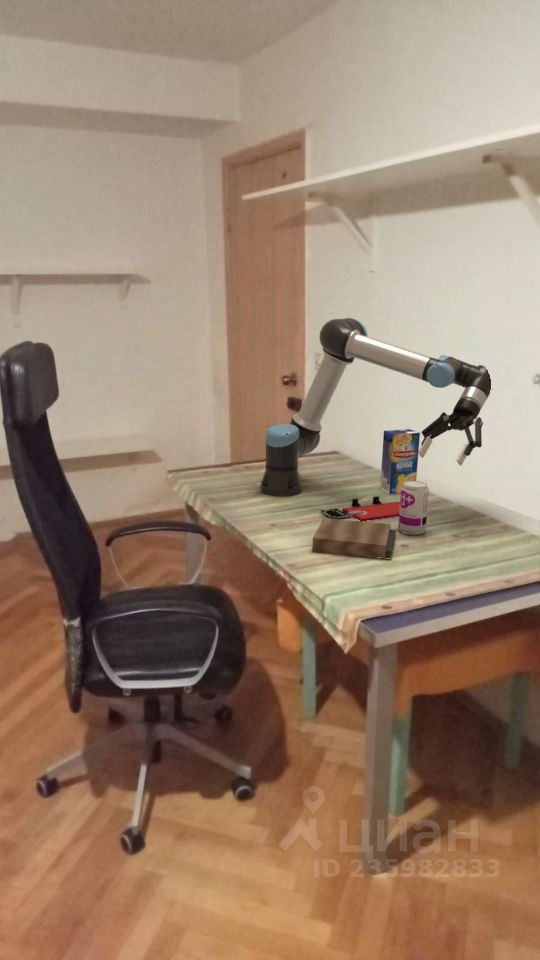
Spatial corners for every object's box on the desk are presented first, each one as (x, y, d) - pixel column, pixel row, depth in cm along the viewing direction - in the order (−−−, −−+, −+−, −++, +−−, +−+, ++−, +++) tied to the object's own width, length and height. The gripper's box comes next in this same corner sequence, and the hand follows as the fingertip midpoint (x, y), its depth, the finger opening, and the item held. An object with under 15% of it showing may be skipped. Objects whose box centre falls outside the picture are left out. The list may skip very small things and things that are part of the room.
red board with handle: (316, 511, 220) (340, 526, 208) (317, 503, 220) (340, 517, 207) (391, 502, 233) (418, 515, 220) (392, 494, 232) (419, 507, 220)
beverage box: (415, 491, 245) (420, 432, 239) (389, 494, 241) (393, 434, 235) (405, 486, 251) (409, 429, 245) (379, 489, 247) (383, 430, 241)
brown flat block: (312, 551, 186) (312, 537, 184) (323, 530, 202) (323, 517, 201) (390, 559, 181) (391, 545, 180) (395, 537, 197) (396, 524, 196)
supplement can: (409, 537, 198) (413, 488, 194) (392, 529, 205) (395, 481, 201) (431, 533, 201) (435, 485, 197) (413, 525, 208) (417, 478, 204)
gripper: (510, 417, 204) (479, 473, 198) (439, 408, 221) (410, 459, 215) (502, 401, 199) (471, 458, 193) (431, 393, 216) (401, 445, 211)
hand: (439, 459), depth 204 cm, fingers open, 13 cm apart
